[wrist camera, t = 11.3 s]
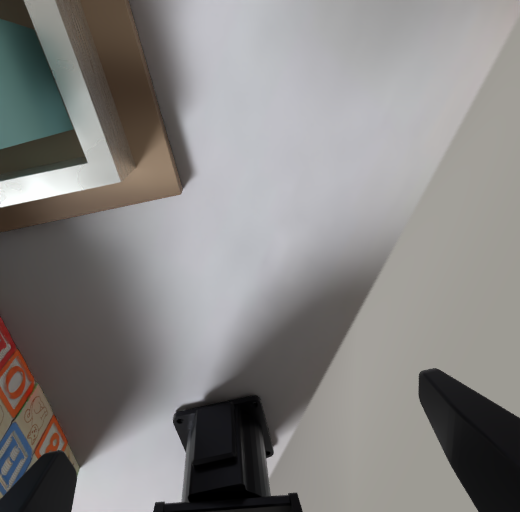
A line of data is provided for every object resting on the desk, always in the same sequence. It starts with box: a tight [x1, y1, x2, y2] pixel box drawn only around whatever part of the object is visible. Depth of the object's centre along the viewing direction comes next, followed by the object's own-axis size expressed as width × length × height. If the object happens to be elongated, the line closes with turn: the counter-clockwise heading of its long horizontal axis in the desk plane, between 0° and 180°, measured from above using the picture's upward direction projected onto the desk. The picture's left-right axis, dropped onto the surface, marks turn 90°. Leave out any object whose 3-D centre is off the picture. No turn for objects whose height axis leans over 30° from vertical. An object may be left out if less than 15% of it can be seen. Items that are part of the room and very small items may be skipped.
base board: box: [0, 0, 183, 232], centre depth 16 cm, size 12×12×1 cm
